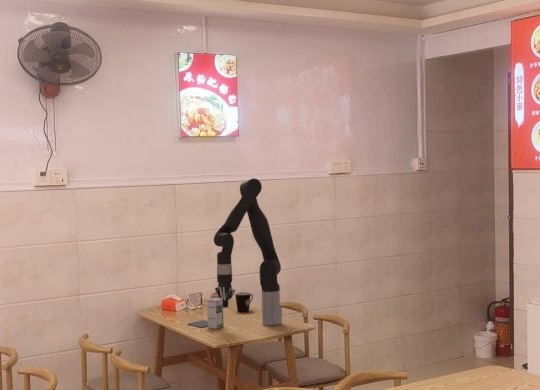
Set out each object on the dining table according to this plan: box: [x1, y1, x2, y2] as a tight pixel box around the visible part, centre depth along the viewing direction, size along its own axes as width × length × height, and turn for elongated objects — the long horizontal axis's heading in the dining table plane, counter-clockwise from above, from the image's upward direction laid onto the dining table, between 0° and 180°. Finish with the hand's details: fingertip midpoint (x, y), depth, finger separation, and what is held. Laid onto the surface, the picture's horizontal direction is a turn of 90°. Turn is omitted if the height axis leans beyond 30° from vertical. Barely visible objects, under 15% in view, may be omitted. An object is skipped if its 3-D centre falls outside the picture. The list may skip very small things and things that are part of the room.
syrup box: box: [206, 298, 225, 330], centre depth 354 cm, size 6×6×14 cm
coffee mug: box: [234, 291, 254, 314], centre depth 392 cm, size 12×9×10 cm
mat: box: [187, 319, 209, 329], centre depth 361 cm, size 12×11×1 cm
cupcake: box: [209, 290, 219, 299], centre depth 409 cm, size 9×9×10 cm
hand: (225, 307), depth 348 cm, fingers closed
